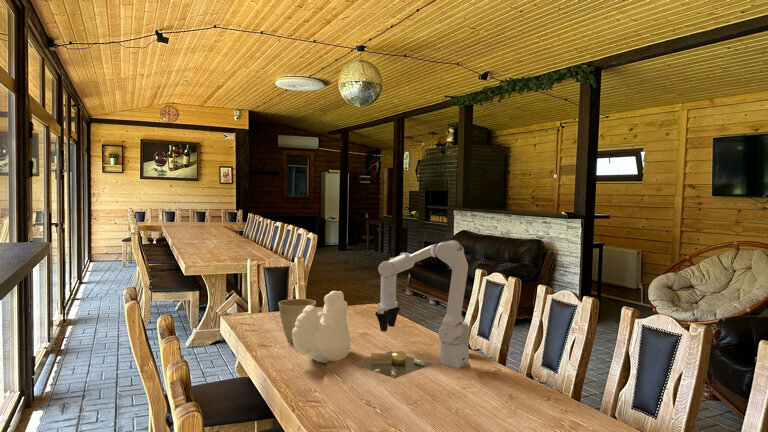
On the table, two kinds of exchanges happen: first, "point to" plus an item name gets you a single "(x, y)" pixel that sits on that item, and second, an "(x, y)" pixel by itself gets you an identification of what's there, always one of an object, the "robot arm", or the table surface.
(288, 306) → the plant pot
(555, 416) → the table surface
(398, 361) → the brass door handle
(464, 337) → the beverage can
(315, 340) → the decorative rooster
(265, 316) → the table surface
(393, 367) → the base plate
